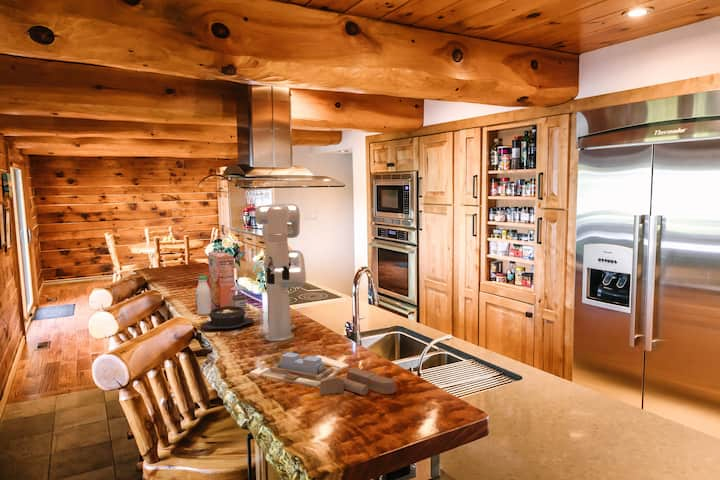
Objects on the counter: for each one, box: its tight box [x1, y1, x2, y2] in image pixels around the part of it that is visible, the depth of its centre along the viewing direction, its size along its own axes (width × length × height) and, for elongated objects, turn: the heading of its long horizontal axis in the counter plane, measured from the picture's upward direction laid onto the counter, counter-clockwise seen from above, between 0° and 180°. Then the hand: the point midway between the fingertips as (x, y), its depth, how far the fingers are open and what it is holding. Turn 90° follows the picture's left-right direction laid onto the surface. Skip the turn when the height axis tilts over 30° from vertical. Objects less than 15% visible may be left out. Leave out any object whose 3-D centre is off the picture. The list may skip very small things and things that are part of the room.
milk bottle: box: [195, 275, 212, 316], centre depth 256 cm, size 8×8×20 cm
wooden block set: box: [320, 367, 396, 397], centre depth 153 cm, size 17×6×18 cm
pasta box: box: [208, 251, 236, 309], centre depth 269 cm, size 23×8×30 cm, turn 30°
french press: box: [229, 266, 250, 317], centre depth 253 cm, size 10×12×25 cm
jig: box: [261, 362, 342, 388], centre depth 170 cm, size 16×22×2 cm
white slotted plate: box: [249, 361, 271, 377], centre depth 171 cm, size 6×4×4 cm, turn 152°
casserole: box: [199, 306, 255, 331], centre depth 231 cm, size 25×19×8 cm
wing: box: [314, 354, 350, 370], centre depth 181 cm, size 4×16×1 cm, turn 47°
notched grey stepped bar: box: [279, 351, 326, 375], centre depth 169 cm, size 16×4×6 cm, turn 63°
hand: (278, 281), depth 191 cm, fingers open, 9 cm apart
